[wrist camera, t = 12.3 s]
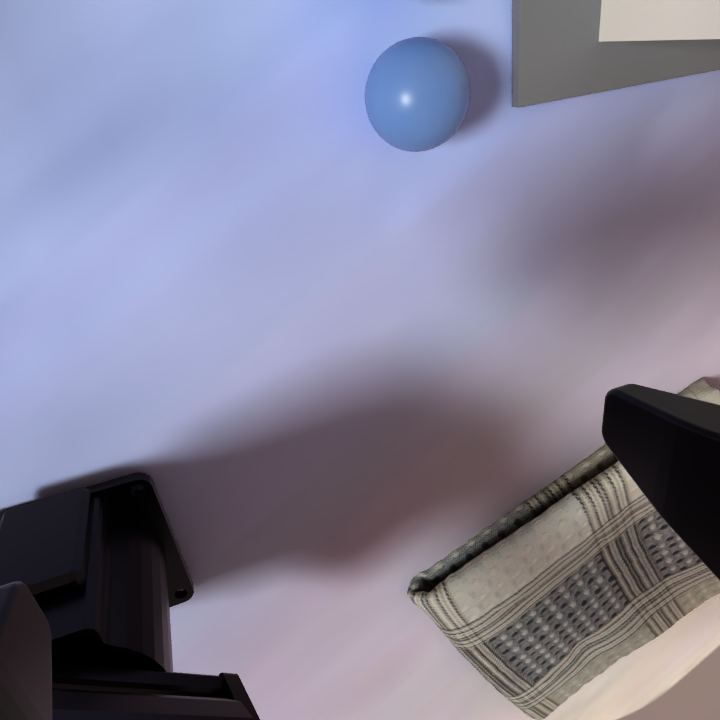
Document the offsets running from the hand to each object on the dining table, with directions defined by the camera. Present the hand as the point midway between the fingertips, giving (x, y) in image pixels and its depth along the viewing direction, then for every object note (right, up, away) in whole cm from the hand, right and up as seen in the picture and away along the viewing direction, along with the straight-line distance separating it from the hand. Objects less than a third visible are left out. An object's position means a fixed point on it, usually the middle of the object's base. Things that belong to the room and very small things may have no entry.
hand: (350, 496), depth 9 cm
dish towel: (+14, -9, +25) cm, 30 cm away
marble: (+1, +10, +9) cm, 14 cm away
